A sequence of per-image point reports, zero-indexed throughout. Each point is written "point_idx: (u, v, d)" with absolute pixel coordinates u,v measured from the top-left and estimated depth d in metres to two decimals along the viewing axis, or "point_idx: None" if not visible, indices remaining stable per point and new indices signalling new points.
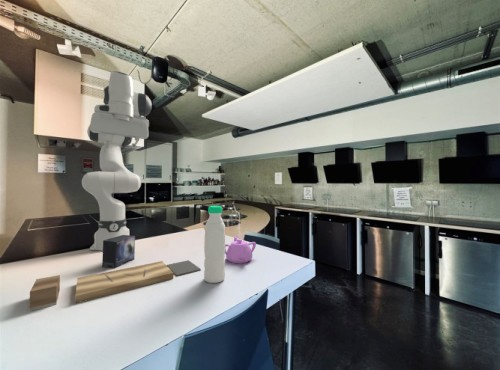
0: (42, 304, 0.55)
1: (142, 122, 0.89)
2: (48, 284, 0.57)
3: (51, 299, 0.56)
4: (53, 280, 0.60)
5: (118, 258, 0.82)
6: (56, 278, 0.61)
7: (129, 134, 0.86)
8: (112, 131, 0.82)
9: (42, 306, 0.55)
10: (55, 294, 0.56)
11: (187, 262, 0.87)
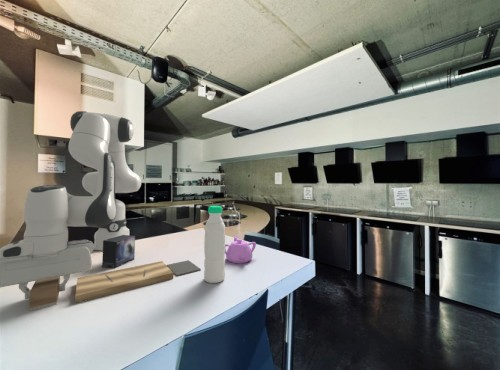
0: (42, 304, 0.55)
1: (81, 251, 0.62)
2: (48, 284, 0.57)
3: (51, 299, 0.56)
4: (53, 280, 0.60)
5: (118, 258, 0.82)
6: (56, 278, 0.61)
7: (59, 275, 0.59)
8: (29, 279, 0.55)
9: (42, 306, 0.55)
10: (55, 294, 0.56)
11: (187, 262, 0.87)
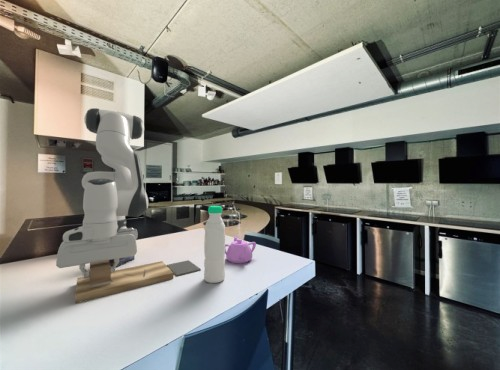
0: (99, 282, 0.62)
1: (129, 238, 0.69)
2: (102, 265, 0.65)
3: (106, 278, 0.63)
4: (105, 262, 0.67)
5: None
6: (107, 261, 0.68)
7: (111, 258, 0.66)
8: (87, 261, 0.63)
9: (99, 284, 0.62)
10: (110, 274, 0.64)
11: (187, 262, 0.87)
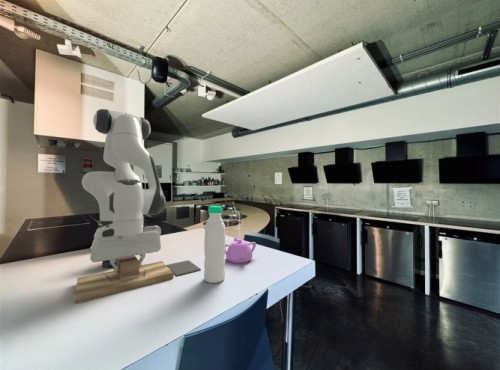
0: (129, 275, 0.67)
1: (154, 235, 0.74)
2: (131, 260, 0.69)
3: (135, 272, 0.68)
4: (132, 258, 0.72)
5: None
6: (133, 256, 0.73)
7: (138, 253, 0.71)
8: (118, 256, 0.67)
9: (129, 277, 0.67)
10: (138, 268, 0.68)
11: (187, 262, 0.87)
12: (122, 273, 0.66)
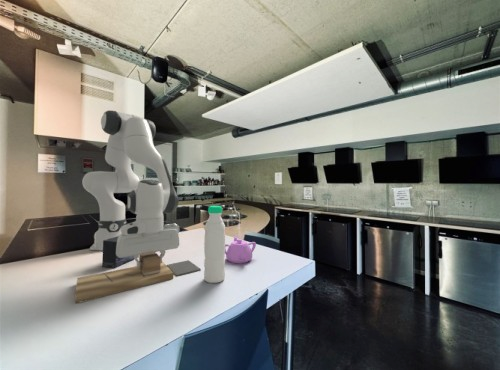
0: (152, 270, 0.71)
1: (173, 232, 0.78)
2: (152, 256, 0.73)
3: (157, 267, 0.72)
4: (153, 254, 0.76)
5: (118, 258, 0.82)
6: (154, 253, 0.77)
7: (159, 250, 0.75)
8: (141, 252, 0.71)
9: (152, 272, 0.71)
10: (159, 263, 0.72)
11: (187, 262, 0.87)
12: (145, 268, 0.70)
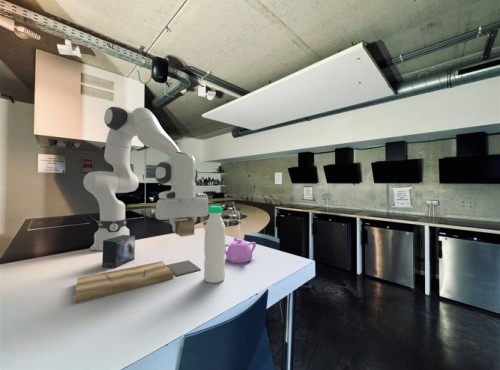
0: (187, 233, 0.78)
1: (203, 201, 0.85)
2: (186, 221, 0.81)
3: (191, 230, 0.79)
4: (186, 220, 0.83)
5: (118, 258, 0.82)
6: (186, 219, 0.85)
7: (192, 216, 0.82)
8: (177, 216, 0.79)
9: (187, 234, 0.78)
10: (193, 227, 0.80)
11: (187, 262, 0.87)
12: (182, 230, 0.77)
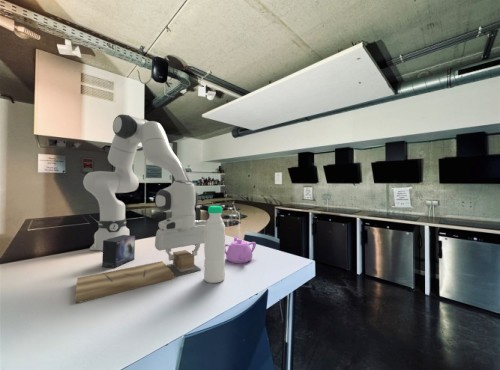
0: (187, 267, 0.78)
1: (203, 228, 0.85)
2: (186, 254, 0.81)
3: (191, 264, 0.79)
4: (186, 252, 0.83)
5: (118, 258, 0.82)
6: (186, 251, 0.85)
7: (192, 244, 0.82)
8: (177, 246, 0.79)
9: (187, 269, 0.78)
10: (193, 261, 0.80)
11: None
12: (182, 265, 0.77)
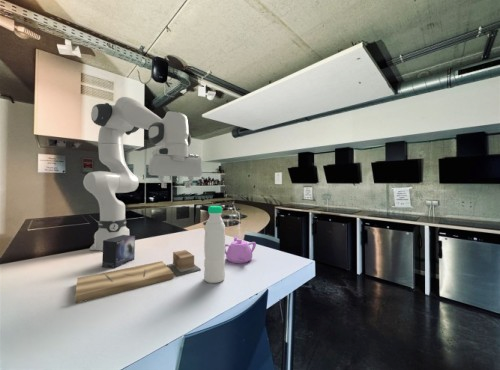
0: (187, 267, 0.78)
1: (196, 161, 0.87)
2: (186, 254, 0.81)
3: (191, 264, 0.79)
4: (186, 252, 0.83)
5: (118, 258, 0.82)
6: (186, 251, 0.85)
7: (185, 174, 0.84)
8: (170, 173, 0.80)
9: (187, 269, 0.78)
10: (193, 261, 0.80)
11: None
12: (182, 265, 0.77)
